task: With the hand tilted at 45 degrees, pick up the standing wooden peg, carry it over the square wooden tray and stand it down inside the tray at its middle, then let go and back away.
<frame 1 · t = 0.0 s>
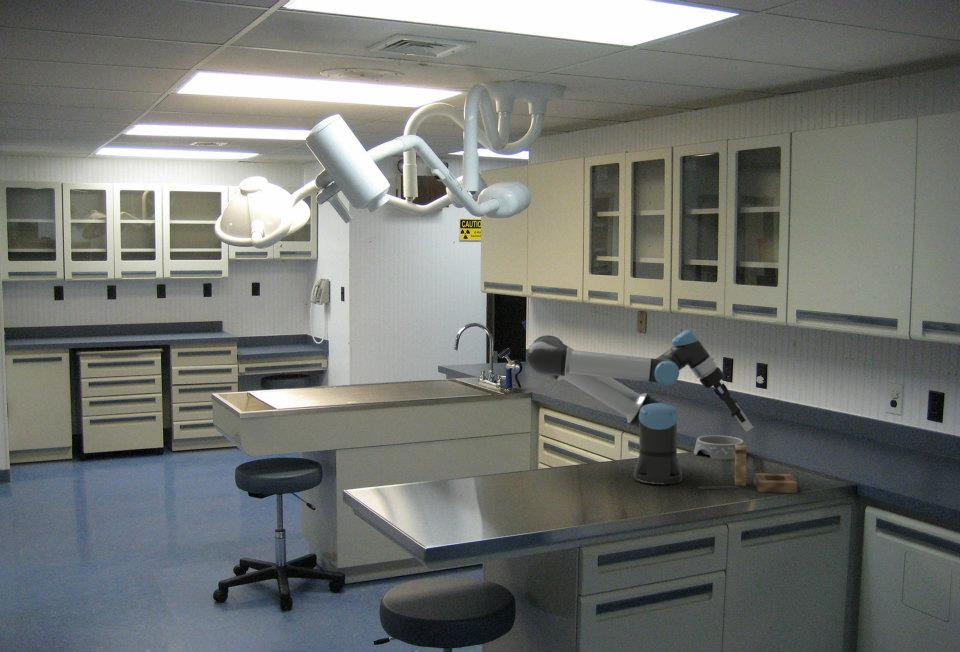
hand: (747, 425, 297), 15 cm above the countertop, tool tilted 35°, fingers open, 13 cm apart
square wooden tray: (775, 487, 278), on the countertop
dog bowl: (720, 454, 324), on the countertop
lace: (718, 488, 278), on the countertop
wooden peg: (740, 484, 283), on the countertop
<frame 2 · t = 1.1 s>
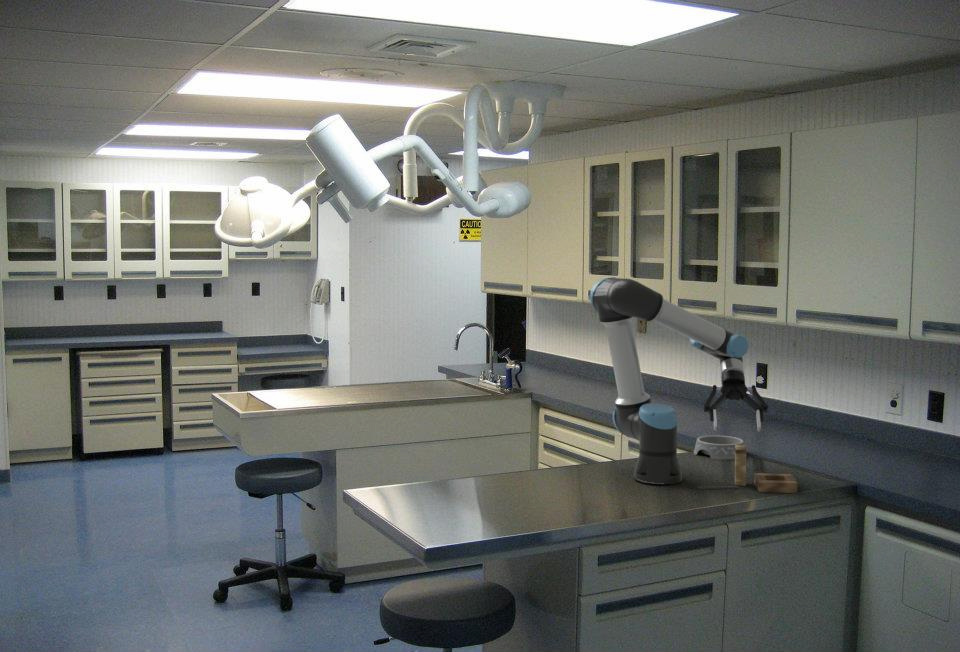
hand: (737, 429, 292), 15 cm above the countertop, tool tilted 45°, fingers open, 13 cm apart
nothing on the countertop moved.
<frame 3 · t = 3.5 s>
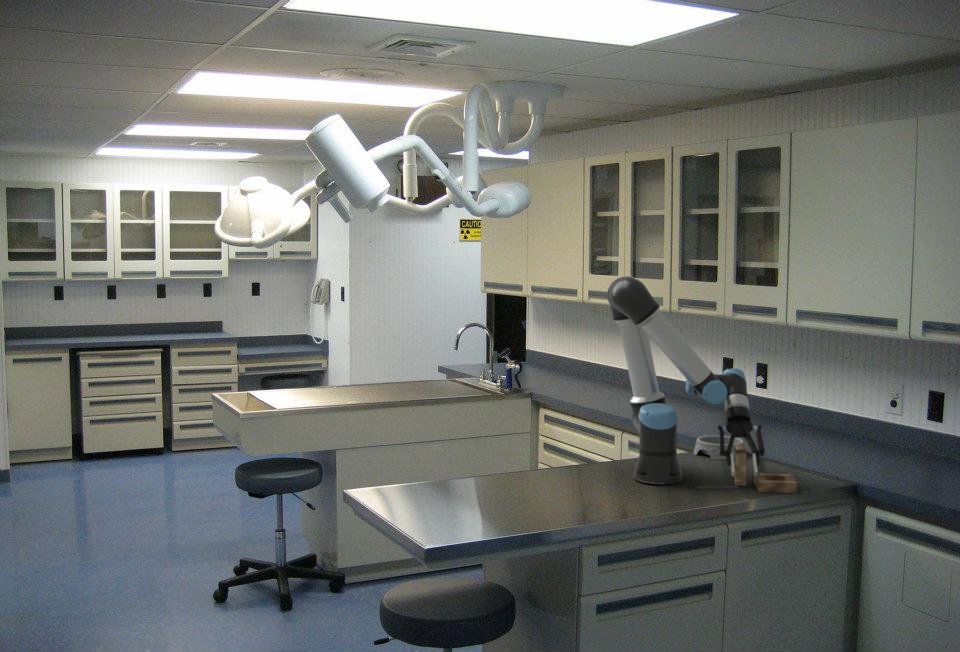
hand: (744, 473, 279), 4 cm above the countertop, tool tilted 45°, fingers open, 6 cm apart
nothing on the countertop moved.
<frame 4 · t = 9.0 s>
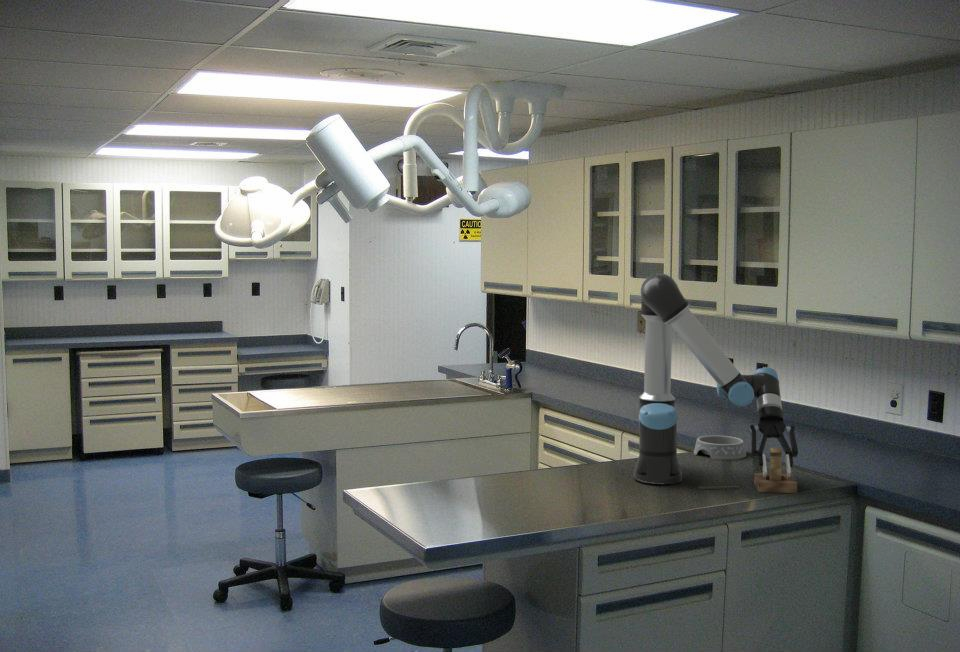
hand: (777, 474, 274), 5 cm above the countertop, tool tilted 45°, fingers open, 6 cm apart
wooden peg: (775, 487, 278), resting in square wooden tray
everything else where it was.
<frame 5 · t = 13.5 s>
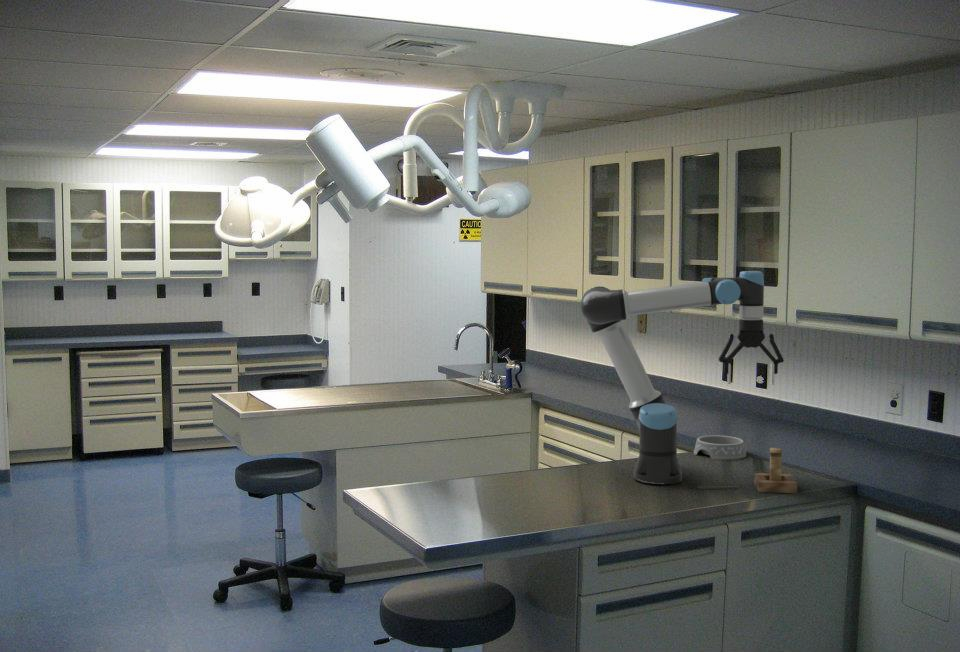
hand: (750, 383, 297), 29 cm above the countertop, tool pointing down, fingers open, 13 cm apart
nothing on the countertop moved.
at the end: wooden peg 0.0 cm off-centre on the square wooden tray, point 0.0 cm above the square wooden tray's base; wooden peg tilted 0°; the gripper is holding nothing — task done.
